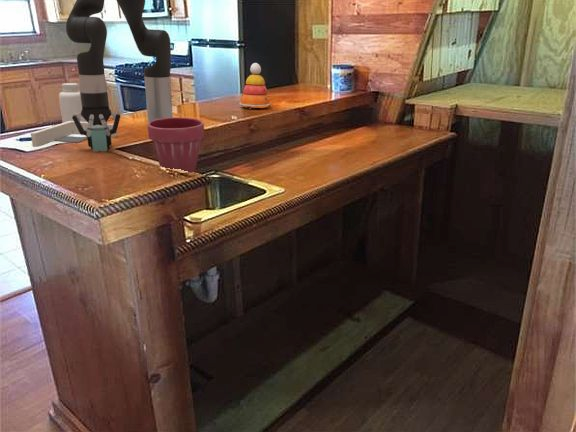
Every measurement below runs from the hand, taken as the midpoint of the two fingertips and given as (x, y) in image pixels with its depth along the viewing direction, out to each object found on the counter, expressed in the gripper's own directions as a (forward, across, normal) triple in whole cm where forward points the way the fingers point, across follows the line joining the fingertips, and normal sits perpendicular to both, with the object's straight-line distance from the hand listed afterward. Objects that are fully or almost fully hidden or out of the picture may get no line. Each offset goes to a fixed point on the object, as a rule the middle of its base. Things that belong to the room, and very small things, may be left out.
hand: (100, 147), depth 152 cm
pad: (0, +9, -14) cm, 17 cm away
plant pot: (+1, -20, +28) cm, 34 cm away
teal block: (0, 0, 0) cm, 0 cm away
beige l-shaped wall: (0, +7, -12) cm, 14 cm away
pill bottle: (+1, +9, -35) cm, 36 cm away
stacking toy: (+1, -66, -62) cm, 91 cm away
